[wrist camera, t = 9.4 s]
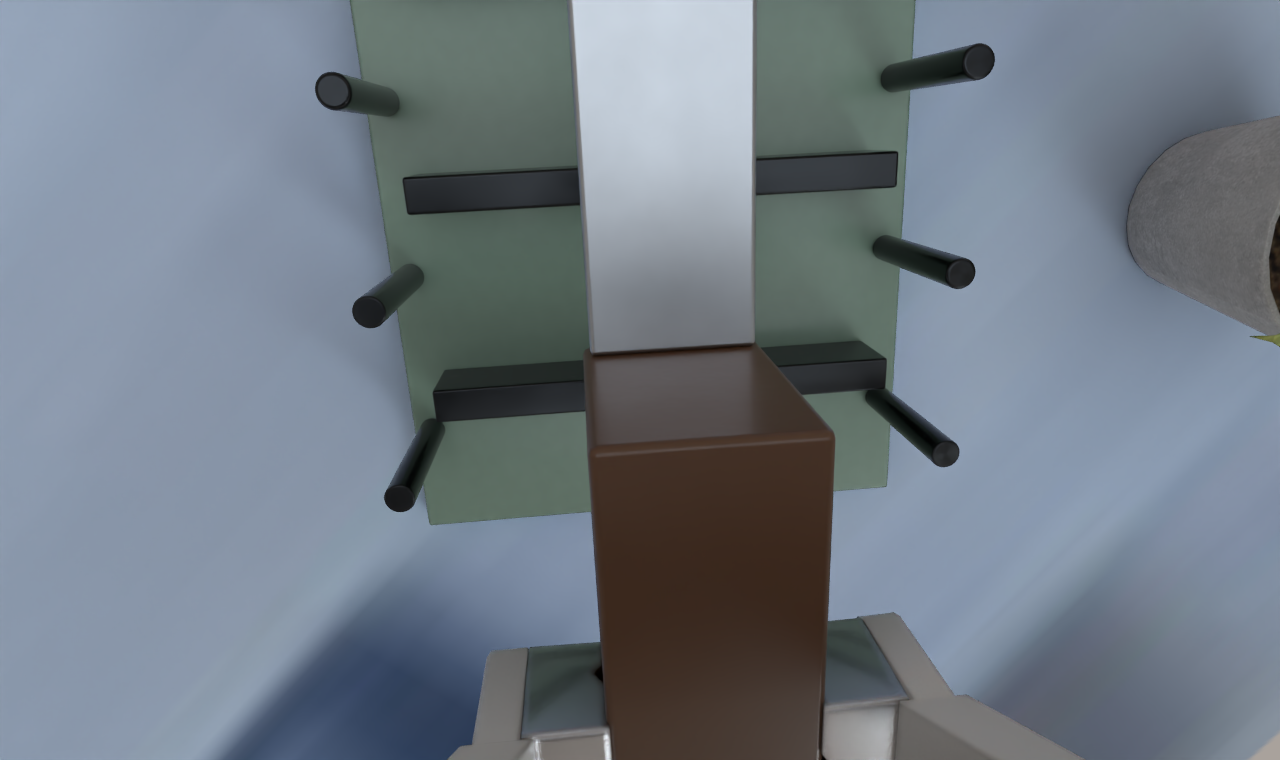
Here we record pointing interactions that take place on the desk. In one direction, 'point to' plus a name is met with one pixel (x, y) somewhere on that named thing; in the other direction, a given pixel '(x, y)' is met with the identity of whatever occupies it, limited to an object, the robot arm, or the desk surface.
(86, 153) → the desk surface
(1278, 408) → the desk surface
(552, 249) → the rack
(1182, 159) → the house plant
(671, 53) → the knife
